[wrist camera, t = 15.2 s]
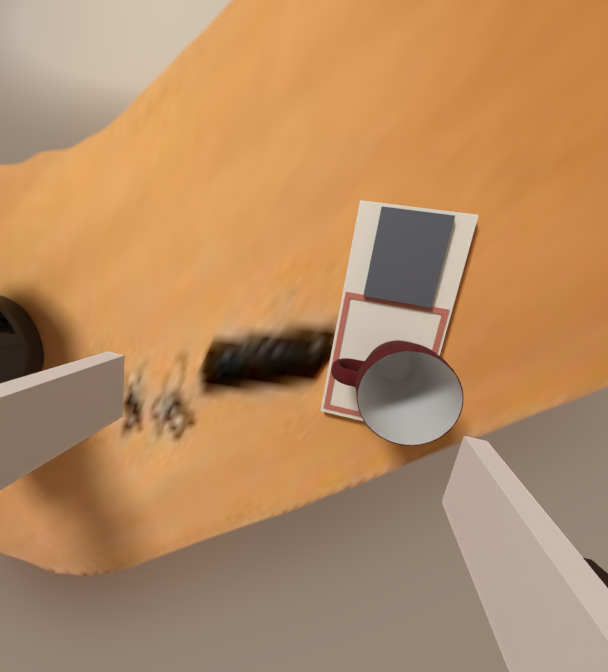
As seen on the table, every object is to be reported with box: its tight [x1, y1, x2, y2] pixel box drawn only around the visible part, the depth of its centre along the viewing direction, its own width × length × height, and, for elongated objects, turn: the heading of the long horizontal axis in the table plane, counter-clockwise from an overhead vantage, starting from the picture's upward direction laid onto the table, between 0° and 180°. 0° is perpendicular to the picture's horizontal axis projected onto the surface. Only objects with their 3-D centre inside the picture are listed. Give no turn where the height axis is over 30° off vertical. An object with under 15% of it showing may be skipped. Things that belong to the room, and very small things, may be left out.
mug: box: [331, 340, 463, 446], centre depth 28 cm, size 11×8×10 cm
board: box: [321, 200, 478, 421], centre depth 32 cm, size 12×24×2 cm, turn 170°
